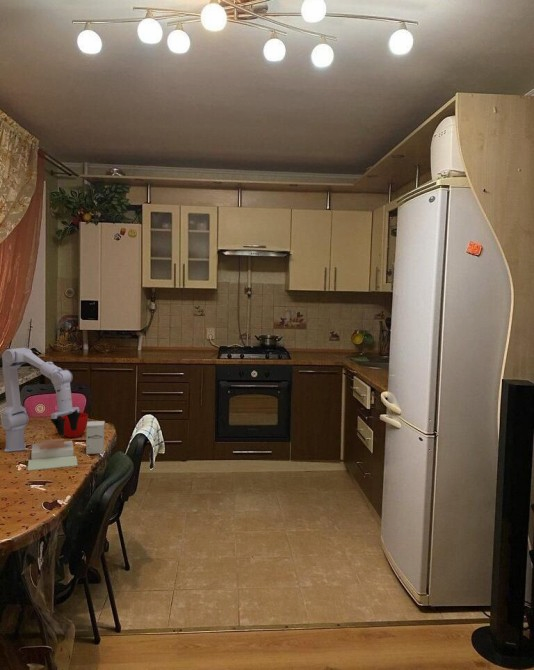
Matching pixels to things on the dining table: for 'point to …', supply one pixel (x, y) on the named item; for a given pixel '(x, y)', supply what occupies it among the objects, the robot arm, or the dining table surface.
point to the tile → (52, 443)
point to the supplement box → (95, 437)
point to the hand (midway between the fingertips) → (67, 432)
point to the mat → (52, 463)
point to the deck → (52, 451)
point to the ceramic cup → (80, 426)
